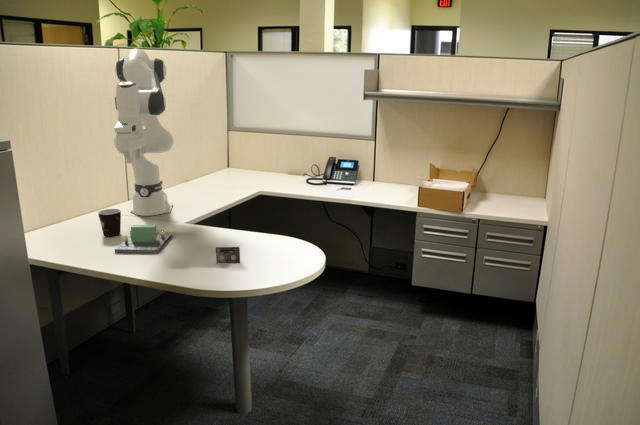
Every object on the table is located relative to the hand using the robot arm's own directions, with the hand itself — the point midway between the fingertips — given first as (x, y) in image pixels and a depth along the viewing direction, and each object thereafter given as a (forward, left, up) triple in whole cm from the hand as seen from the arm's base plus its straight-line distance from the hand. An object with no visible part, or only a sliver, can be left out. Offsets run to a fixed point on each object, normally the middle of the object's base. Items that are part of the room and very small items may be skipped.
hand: (134, 160), depth 208 cm
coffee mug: (0, -12, -31) cm, 34 cm away
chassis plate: (+10, +5, -31) cm, 33 cm away
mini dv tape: (+29, +41, -31) cm, 59 cm away
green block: (+10, +5, -30) cm, 32 cm away
